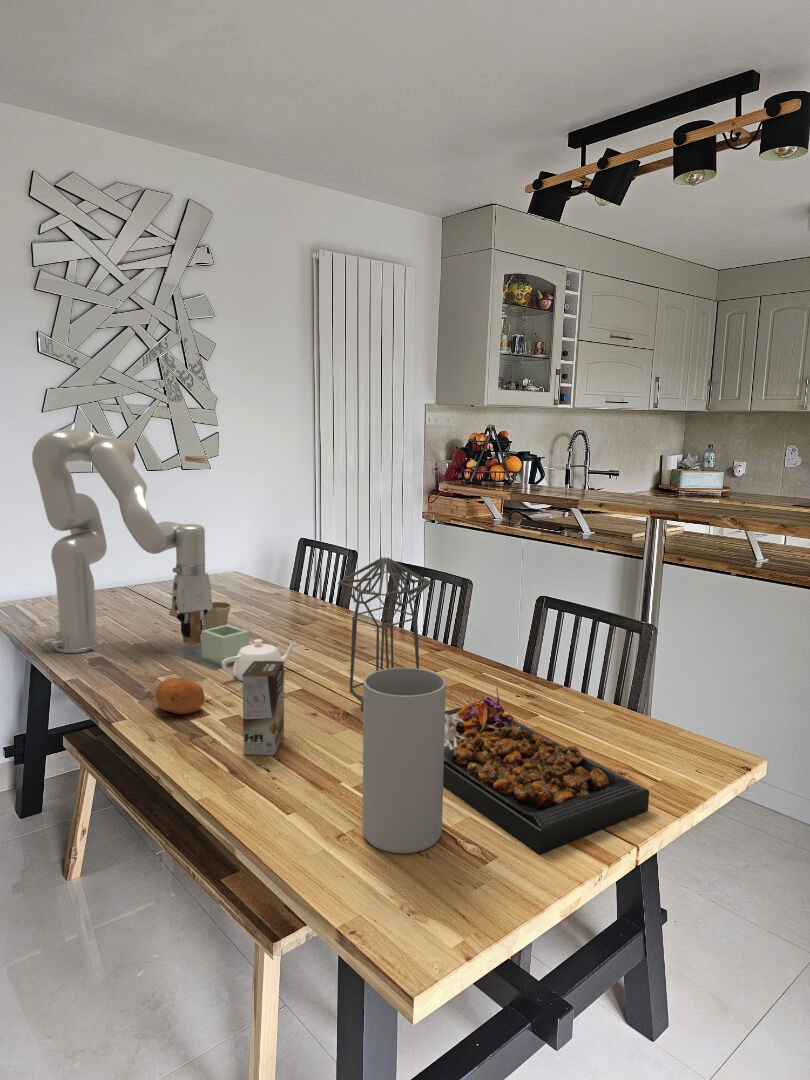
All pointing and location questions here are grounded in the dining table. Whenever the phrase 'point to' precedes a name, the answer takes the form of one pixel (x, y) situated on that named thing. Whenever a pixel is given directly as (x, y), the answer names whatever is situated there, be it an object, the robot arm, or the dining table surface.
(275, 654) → the teapot
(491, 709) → the food platter
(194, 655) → the slate board
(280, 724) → the coffee box
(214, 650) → the square sage planter
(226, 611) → the flower pot
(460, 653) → the dining table surface
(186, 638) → the brown wooden block
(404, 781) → the cylinder vase
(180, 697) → the potato
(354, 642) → the geometric lantern
